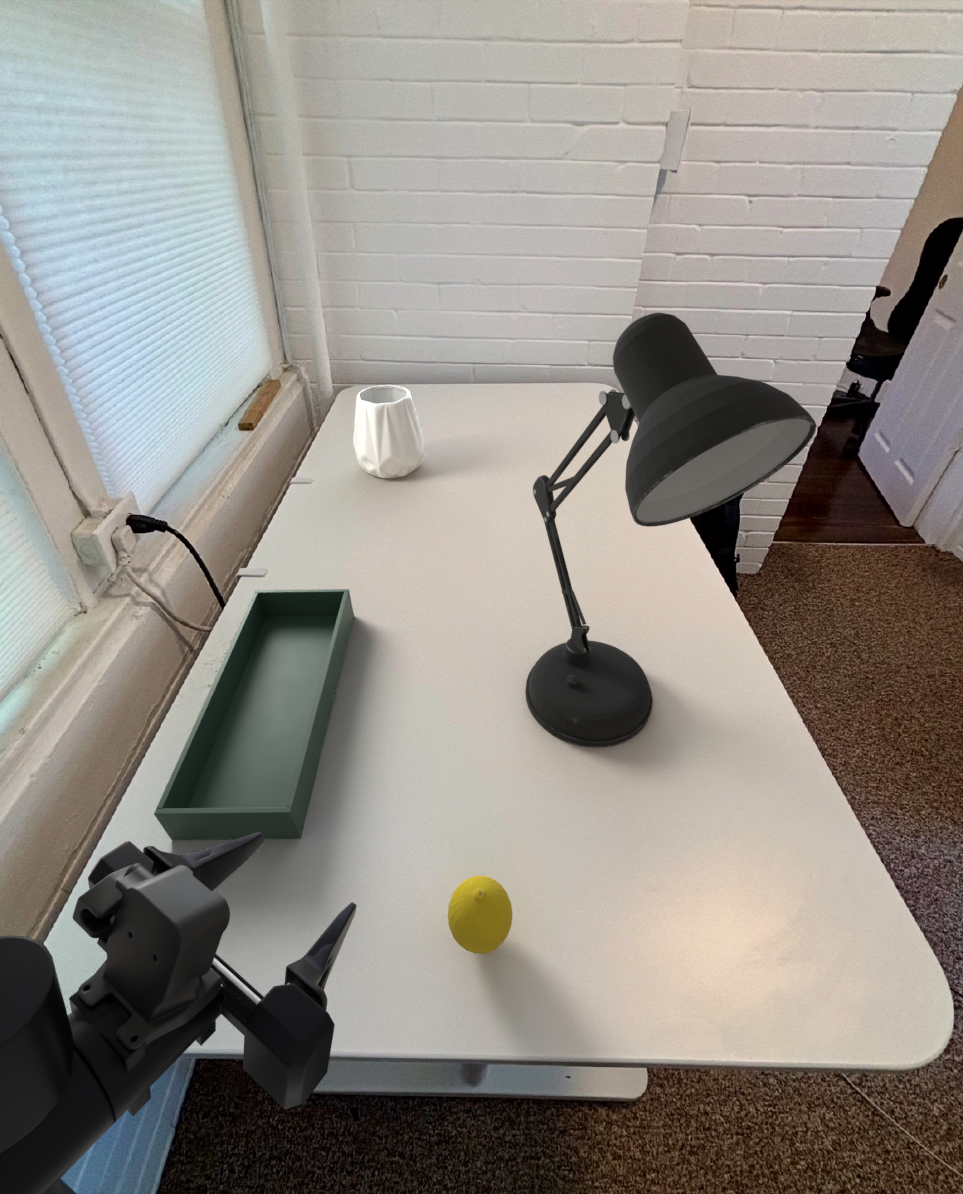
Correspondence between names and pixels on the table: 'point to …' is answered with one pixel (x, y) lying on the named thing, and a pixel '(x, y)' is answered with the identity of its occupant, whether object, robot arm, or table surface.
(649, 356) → the desk lamp
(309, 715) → the green rectangular tray
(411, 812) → the table surface
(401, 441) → the vase
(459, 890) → the lemon
